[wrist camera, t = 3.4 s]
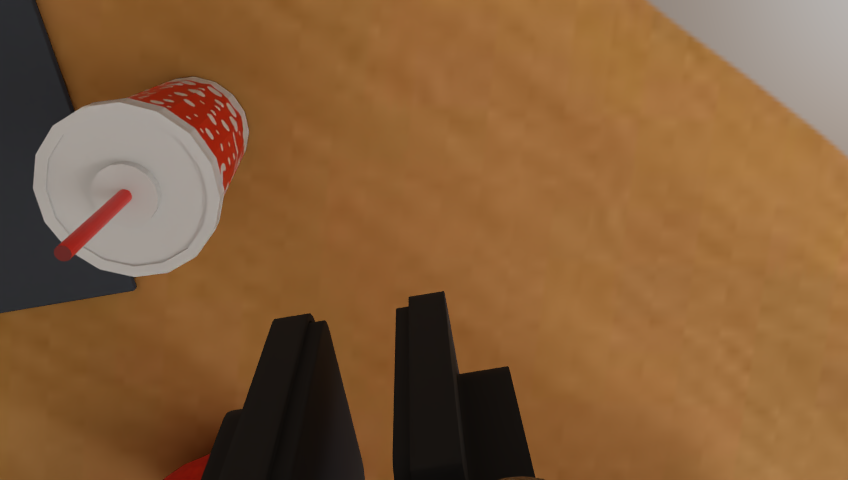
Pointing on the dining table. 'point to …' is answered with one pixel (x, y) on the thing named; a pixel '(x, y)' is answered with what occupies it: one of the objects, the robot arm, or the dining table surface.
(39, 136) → the mat
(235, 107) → the beverage cup
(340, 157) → the dining table surface
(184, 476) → the apple
